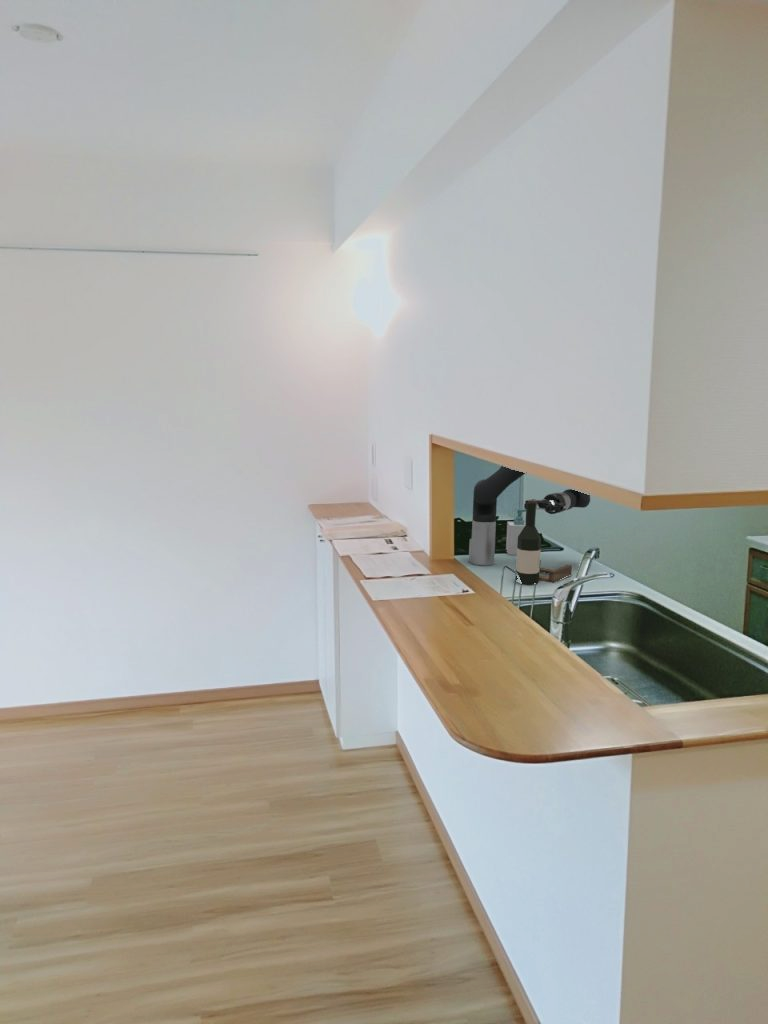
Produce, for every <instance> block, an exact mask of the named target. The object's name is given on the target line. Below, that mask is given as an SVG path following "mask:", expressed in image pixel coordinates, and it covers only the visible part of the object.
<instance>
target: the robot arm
mask: <svg viewBox="0 0 768 1024" xmlns="http://www.w3.org/2000/svg"><path fill="white" fill-rule="evenodd" d="M525 474H526V473H523V472H519V471H515V470H511V469H509V468H506V467H503V466H502V465H501V466H500V467H499V469H497V470H496V471H494V473H493V474H491V475H490V476H488V477H487V478H485V479H481V480H478V482H476V484H475V485H474V488H473V498H472V499H473V501H472V503H473V505H472V524H471V526H472V527H471V538H469V543H468V544H469V545H468V546H469V547H468V563H471V564H473V565H477V566H491V565H492V566H493V565H494V564H495V551H496V532H497V531H496V529H497V527H496V526H497V503H498V499H497V498H499V496H500V495H501V494H502V493H503V492H504V491H505V490H506V489H507V488H508V487H509V486H510V485H511V484H513V483H514V482H516V481H518V480H519V479H520V478H521V477H522V476H524V475H525ZM528 500H529V499H528ZM528 500H525V501H524V502H525V503H524V507H523V509H526V504H527V502H528ZM531 500H534V501H535V503H536V511H537V510H542V511H544V512H546V513H547V514H549V515H555V514H558V513H563V512H565V511H568V510H571V509H574V508H582V509H583V508H587V507H588V506H589V504H590V502H591V494H590V495H587V494H584V493H581V492H578V491H575V490H572V489H571V488H568V489H565V490H564V491H562V492H553V493H550V494H547V495H545V496H544V497H543V498H541V499H535V498H534V499H531Z"/></svg>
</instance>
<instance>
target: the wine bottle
mask: <svg viewBox="0 0 768 1024" xmlns="http://www.w3.org/2000/svg"><path fill="white" fill-rule="evenodd" d="M536 514H537V510H536V503H535V501H534V500H532V499H528V502H527V504H526V511H525V522H526V523H525V527H524V528H523V530H522V531H521V533H520V534H519V536H518V543H517V555H516V564H515V565H516V567H515V573H516V572H517V573H518V575H519V577H520V580H521V582H522V584H521V585H523V586H524V585H525V586H535V585H534V583H536V585H538V584H539V582H540V580H539V575H540V572H539V570H540V568H541V566H540V560H541V550H542V548H541V547H542V546H541V545H542V537H541V535H540V533H539V530H538V529H537V527H536ZM517 579H518V578H517V576H516V575H515V581H516V580H517Z"/></svg>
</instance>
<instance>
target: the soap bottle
mask: <svg viewBox="0 0 768 1024" xmlns="http://www.w3.org/2000/svg"><path fill="white" fill-rule="evenodd" d="M514 510H515V511H517V512H516V513H517V516H515V519H513V521H511V520H509V521H507V522H506V543H505V545H506V546H505V551H506V550H507V551H506V553H507V555H508V556H517V543H518V536H519V534H520V533H521V531H522V530H523V528H524V527H525V523H526V521H525V520H524V517H523V516H522V513H524V512H525V513H526V509H525V508H514Z"/></svg>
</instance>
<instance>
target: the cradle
mask: <svg viewBox="0 0 768 1024" xmlns="http://www.w3.org/2000/svg"><path fill="white" fill-rule="evenodd" d="M541 562H542V560H541V559H540V570H539V573H542V572H545V573H544V574H547V573H549V574H548V576H546V575H540V574H539V581H543V582H548V583H552V584H555V583H556V581H557V582H559V581H558V580H560V579H562V578H564V577H566V576H569V575H571V576H572V571H573V570H572V569H573V568H572V567H573V566H572V565H571V564H565V565H562V566H559V567H556V568H554V569H549V568H545V567H541V565H542V564H541ZM562 580H563V579H562ZM560 581H561V580H560ZM554 582H555V583H554Z"/></svg>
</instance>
